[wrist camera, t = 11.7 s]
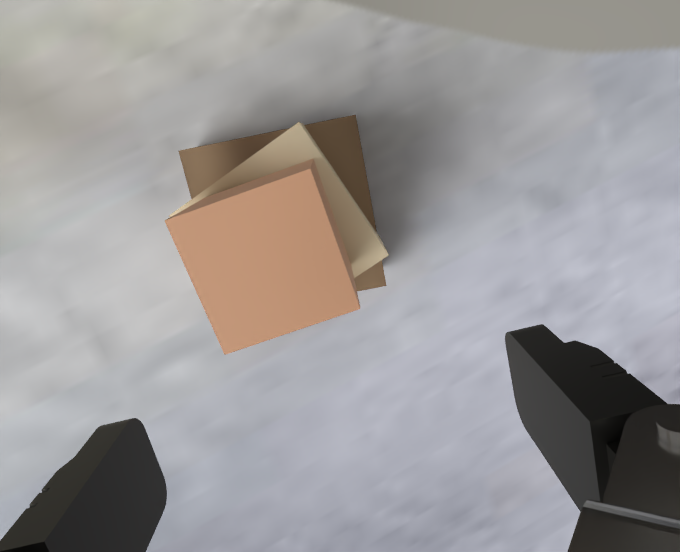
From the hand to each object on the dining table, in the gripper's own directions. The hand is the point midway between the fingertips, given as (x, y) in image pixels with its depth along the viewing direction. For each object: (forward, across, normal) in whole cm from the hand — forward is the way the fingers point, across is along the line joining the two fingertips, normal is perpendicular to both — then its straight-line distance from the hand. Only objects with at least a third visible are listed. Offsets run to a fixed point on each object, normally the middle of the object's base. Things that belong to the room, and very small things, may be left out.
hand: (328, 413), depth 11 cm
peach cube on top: (+13, +2, -2) cm, 13 cm away
